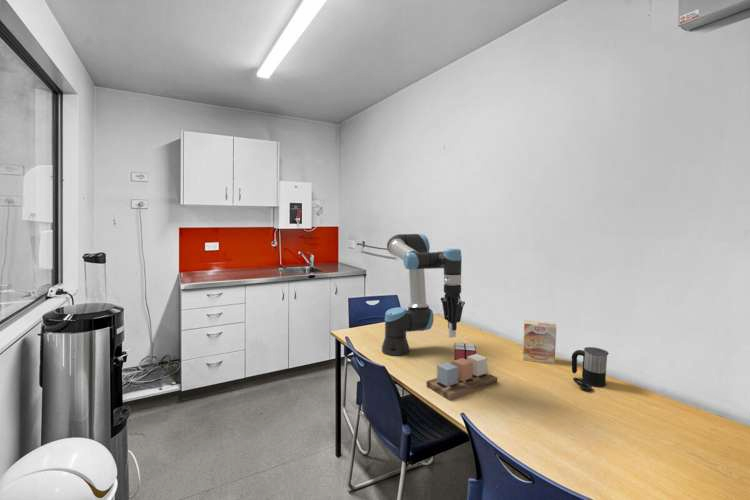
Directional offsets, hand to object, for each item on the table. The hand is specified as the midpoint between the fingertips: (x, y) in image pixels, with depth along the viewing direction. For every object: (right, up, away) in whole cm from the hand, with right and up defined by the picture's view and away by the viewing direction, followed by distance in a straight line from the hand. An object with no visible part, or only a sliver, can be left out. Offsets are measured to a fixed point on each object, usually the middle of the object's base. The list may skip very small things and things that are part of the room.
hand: (452, 336), depth 160 cm
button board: (+4, -21, -1) cm, 21 cm away
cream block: (+12, -17, +3) cm, 21 cm away
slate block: (-3, -18, -6) cm, 19 cm away
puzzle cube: (+10, -19, +19) cm, 29 cm away
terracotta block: (+4, -17, -1) cm, 18 cm away
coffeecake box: (+50, -19, +27) cm, 60 cm away
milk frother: (+60, -21, -1) cm, 64 cm away
